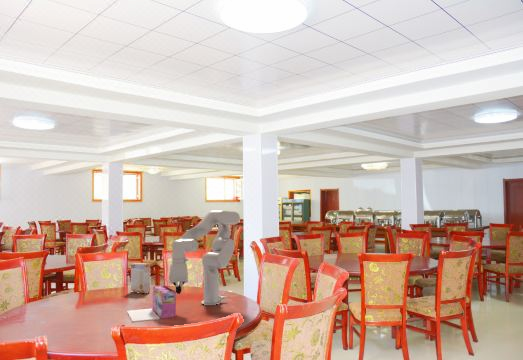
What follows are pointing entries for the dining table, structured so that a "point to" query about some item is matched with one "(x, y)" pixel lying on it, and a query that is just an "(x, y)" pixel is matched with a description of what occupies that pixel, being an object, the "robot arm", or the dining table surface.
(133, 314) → the mat
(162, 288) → the gum box
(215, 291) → the robot arm
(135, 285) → the cracker box
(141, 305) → the dining table surface
